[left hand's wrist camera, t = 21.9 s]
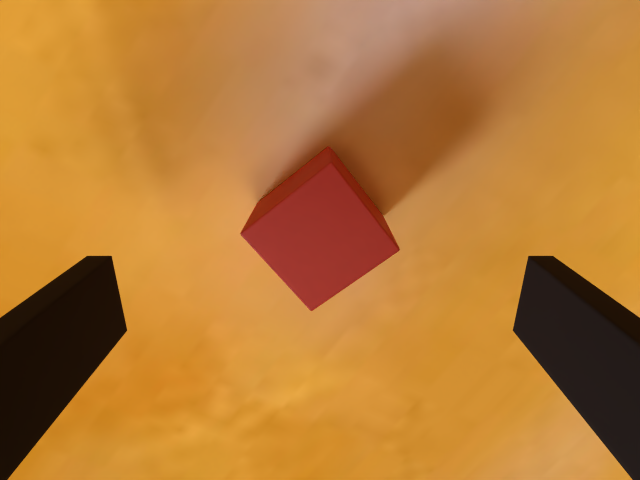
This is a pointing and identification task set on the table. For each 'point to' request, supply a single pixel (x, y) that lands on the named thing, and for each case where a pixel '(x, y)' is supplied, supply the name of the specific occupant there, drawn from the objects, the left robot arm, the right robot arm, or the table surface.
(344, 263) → the block
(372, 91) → the table surface
